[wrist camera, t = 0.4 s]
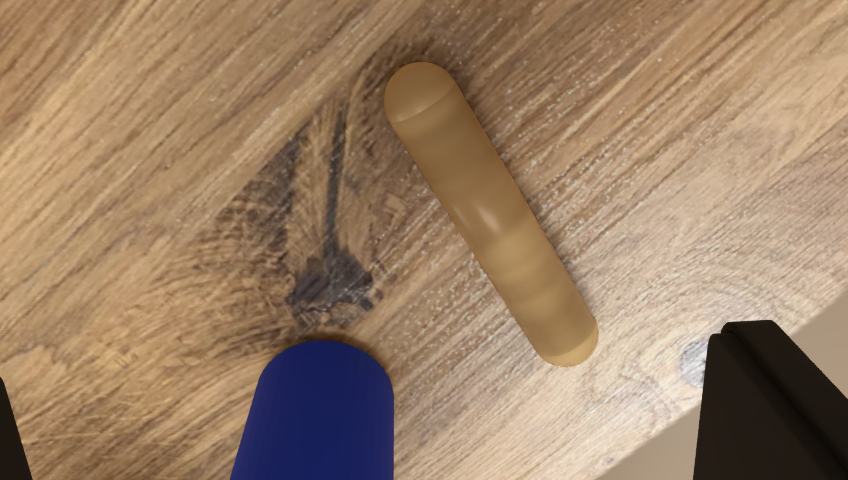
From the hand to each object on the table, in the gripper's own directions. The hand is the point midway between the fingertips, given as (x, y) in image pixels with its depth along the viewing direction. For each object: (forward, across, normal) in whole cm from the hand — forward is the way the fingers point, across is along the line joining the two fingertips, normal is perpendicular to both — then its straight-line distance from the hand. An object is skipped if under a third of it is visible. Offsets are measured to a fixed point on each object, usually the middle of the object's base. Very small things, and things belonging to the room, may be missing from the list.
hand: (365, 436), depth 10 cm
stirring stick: (+17, -4, +3) cm, 17 cm away
